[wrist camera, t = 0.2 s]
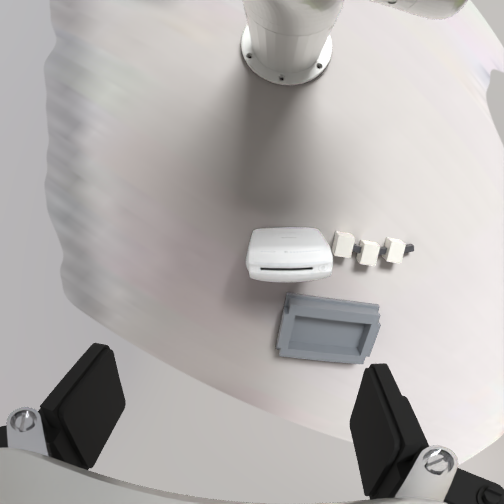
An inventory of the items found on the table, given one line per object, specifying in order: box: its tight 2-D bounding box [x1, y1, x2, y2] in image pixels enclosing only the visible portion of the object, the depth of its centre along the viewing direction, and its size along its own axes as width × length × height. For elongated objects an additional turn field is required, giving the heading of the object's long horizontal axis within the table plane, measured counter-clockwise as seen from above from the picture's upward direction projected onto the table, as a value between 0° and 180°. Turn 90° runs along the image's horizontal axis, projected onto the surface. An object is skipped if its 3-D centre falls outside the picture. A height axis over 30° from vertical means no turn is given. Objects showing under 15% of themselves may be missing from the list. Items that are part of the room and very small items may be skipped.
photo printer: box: [246, 227, 333, 282], centre depth 40 cm, size 10×4×12 cm, turn 92°
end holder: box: [276, 292, 381, 364], centre depth 48 cm, size 10×15×3 cm, turn 82°
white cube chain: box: [332, 231, 414, 266], centre depth 44 cm, size 4×13×2 cm, turn 82°
